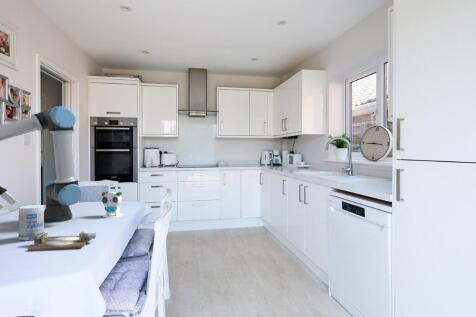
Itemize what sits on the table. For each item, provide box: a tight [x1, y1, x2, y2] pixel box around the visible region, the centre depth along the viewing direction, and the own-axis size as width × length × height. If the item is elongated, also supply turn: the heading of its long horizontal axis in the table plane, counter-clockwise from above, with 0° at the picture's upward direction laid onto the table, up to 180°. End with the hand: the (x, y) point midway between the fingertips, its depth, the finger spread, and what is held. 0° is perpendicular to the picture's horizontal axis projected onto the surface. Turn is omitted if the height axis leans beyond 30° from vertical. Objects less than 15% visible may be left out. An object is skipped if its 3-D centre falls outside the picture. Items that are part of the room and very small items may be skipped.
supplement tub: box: [18, 204, 45, 241], centre depth 132 cm, size 10×10×15 cm
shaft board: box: [27, 231, 97, 252], centre depth 124 cm, size 16×26×5 cm, turn 100°
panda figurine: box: [101, 191, 123, 219], centre depth 177 cm, size 12×11×15 cm
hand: (8, 205), depth 128 cm, fingers open, 13 cm apart
